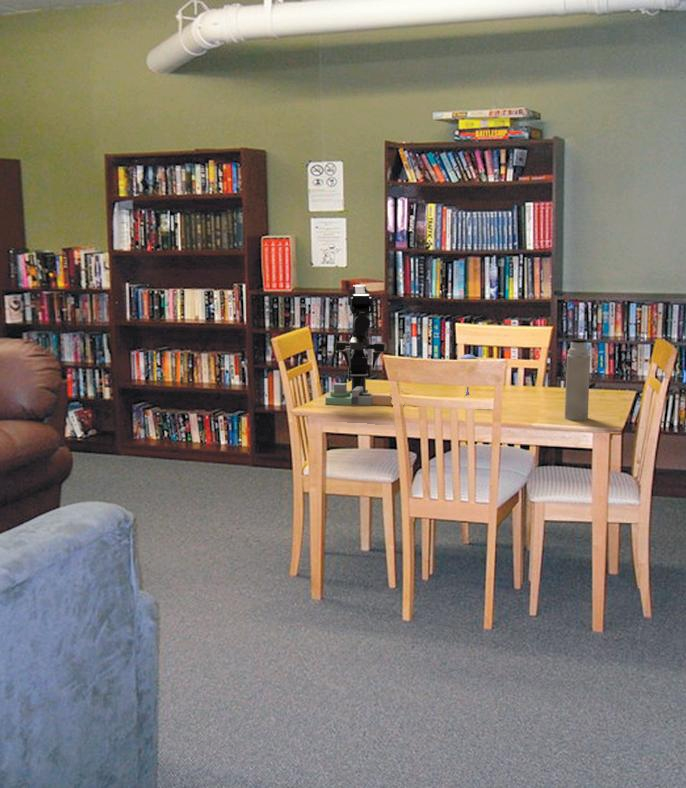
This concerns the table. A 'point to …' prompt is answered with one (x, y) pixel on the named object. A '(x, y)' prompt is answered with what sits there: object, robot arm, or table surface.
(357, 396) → the deck
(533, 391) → the table surface
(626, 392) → the table surface
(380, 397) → the chute
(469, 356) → the baby rattle
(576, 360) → the thermos bottle
